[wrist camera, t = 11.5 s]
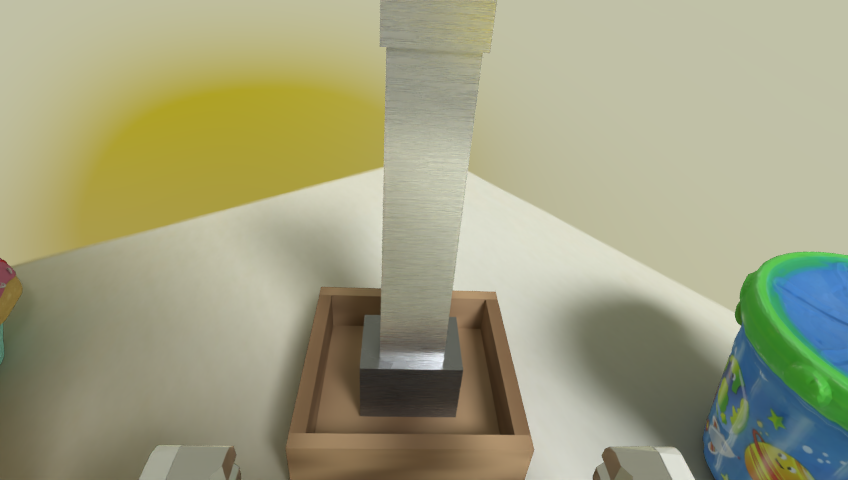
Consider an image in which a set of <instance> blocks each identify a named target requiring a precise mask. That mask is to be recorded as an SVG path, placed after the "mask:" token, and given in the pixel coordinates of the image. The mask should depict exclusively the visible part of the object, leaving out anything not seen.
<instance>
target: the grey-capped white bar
mask: <svg viewBox="0 0 848 480" xmlns="http://www.w3.org/2000/svg"><path fill="white" fill-rule="evenodd" d="M380 4H381V5H380V47H387V49H386V51H387V52H386V94H385V95H386V96H385V140H384V142H385V143H384V185H383V230H382V276H381V315H365V317H364V327H363V338H362V348H361V358H360V416H364V417H456V412H457V406H458V400H459V394H460V388H461V382H462V376H463V364H462V356H461V349H460V341H459V334H458V326H457V319H456V317H449V314H450V306H451V298H452V290H453V282H454V274H455V266H456V259H457V251H458V243H459V235H460V227H461V219H462V211H463V204H464V196H465V188H466V180H467V172H468V164H469V156H470V148H471V141H472V133H473V125H474V117H475V109H476V101H477V94H478V85H479V78H480V70H481V62H482V54H483V53H490V49H491V41H492V34H493V27H494V19H495V12H496V4H497V0H380Z"/></svg>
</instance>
